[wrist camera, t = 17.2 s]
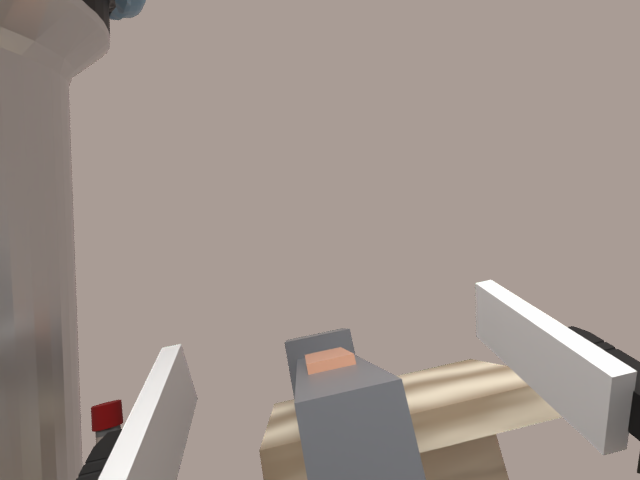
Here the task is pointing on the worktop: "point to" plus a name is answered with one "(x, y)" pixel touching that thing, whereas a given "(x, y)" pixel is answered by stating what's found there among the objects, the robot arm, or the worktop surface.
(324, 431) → the grey stepped block
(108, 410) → the liquor
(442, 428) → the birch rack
